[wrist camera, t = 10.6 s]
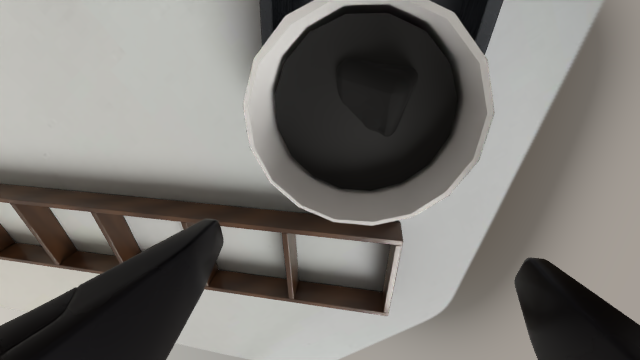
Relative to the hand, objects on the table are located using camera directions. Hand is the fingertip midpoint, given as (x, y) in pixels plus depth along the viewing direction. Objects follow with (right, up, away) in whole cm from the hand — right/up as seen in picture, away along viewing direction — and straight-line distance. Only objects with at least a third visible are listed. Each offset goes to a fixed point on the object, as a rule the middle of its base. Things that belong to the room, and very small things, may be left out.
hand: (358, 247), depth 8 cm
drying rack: (-21, -3, +20) cm, 29 cm away
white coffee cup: (+2, +8, +8) cm, 12 cm away
